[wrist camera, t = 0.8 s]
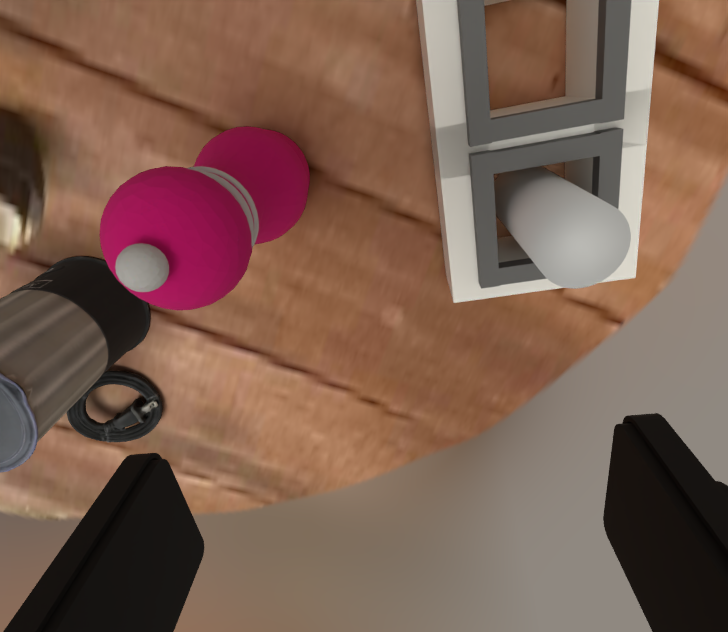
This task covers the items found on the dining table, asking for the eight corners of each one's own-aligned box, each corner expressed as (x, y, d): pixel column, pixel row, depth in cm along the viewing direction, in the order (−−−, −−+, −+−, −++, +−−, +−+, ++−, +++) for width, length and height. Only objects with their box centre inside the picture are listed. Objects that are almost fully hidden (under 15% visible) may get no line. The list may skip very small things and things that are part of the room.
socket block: (412, -28, 28) (426, -97, 17) (621, -76, 26) (778, -185, 16) (446, 276, 37) (468, 355, 26) (604, 252, 35) (697, 327, 24)
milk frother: (86, 231, 37) (-86, 315, 23) (230, 364, 42) (156, 494, 28) (-6, 328, 41) (-192, 444, 28) (135, 437, 46) (32, 579, 33)
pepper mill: (245, 99, 32) (56, 121, 14) (335, 159, 33) (270, 249, 15) (203, 189, 35) (3, 302, 17) (287, 240, 36) (186, 394, 18)
